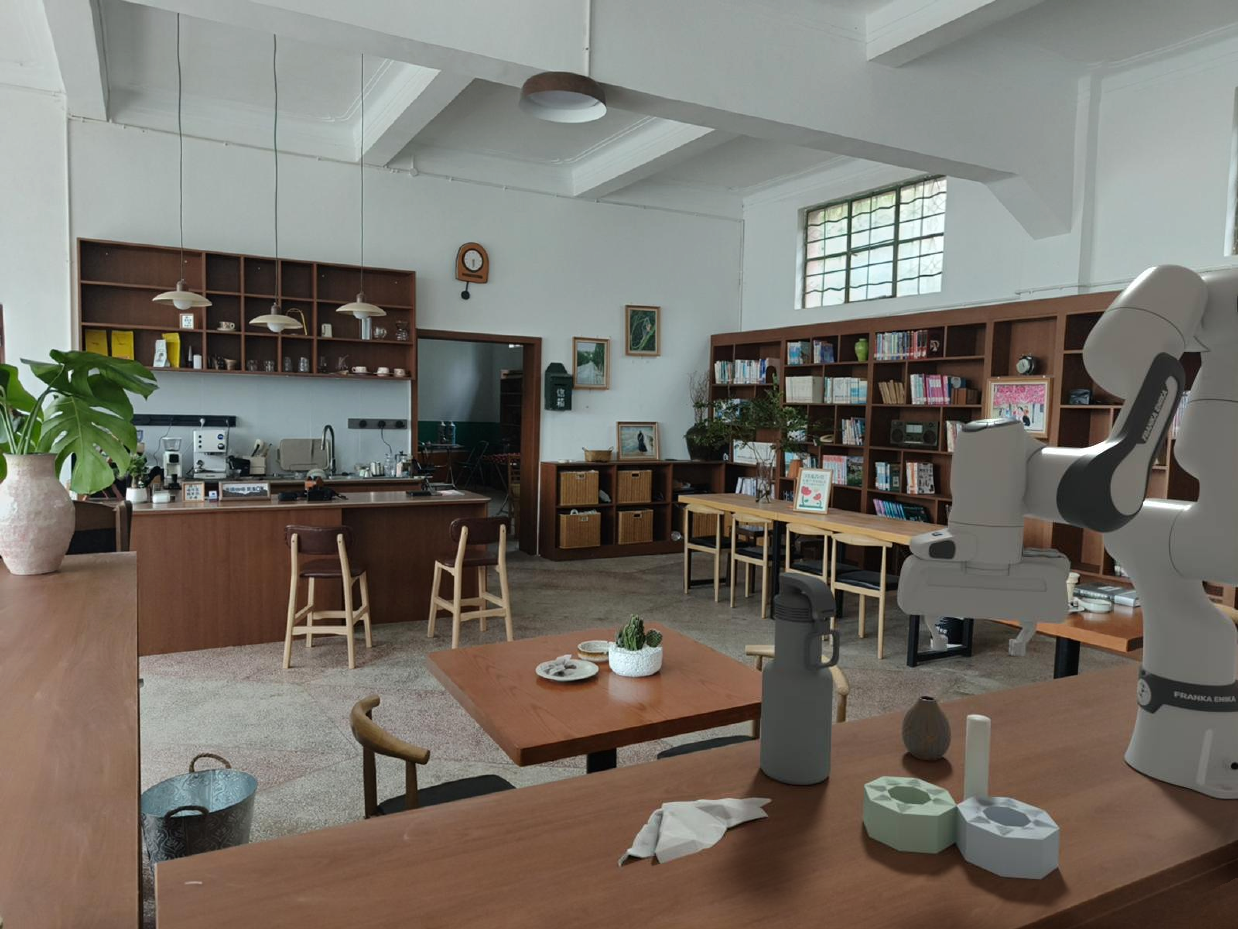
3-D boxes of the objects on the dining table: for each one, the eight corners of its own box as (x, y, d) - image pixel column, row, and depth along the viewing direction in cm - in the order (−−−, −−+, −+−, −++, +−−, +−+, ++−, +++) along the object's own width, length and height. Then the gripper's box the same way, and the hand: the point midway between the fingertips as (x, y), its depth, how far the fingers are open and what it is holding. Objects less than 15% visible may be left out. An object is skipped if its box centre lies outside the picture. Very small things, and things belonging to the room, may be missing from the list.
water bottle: (847, 778, 115) (853, 580, 114) (795, 794, 110) (801, 587, 109) (795, 753, 124) (800, 568, 122) (745, 766, 119) (750, 573, 117)
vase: (954, 767, 120) (956, 708, 119) (904, 762, 121) (906, 704, 121) (945, 748, 126) (947, 692, 126) (898, 744, 128) (900, 688, 127)
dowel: (982, 805, 108) (986, 715, 107) (989, 815, 105) (993, 723, 104) (960, 803, 108) (964, 714, 108) (967, 814, 105) (970, 721, 105)
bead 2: (1033, 835, 100) (1035, 799, 100) (1069, 881, 90) (1071, 841, 90) (947, 829, 101) (949, 794, 101) (973, 874, 91) (975, 835, 91)
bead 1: (939, 814, 105) (940, 779, 105) (962, 855, 95) (964, 817, 95) (858, 808, 106) (859, 774, 106) (873, 849, 96) (874, 811, 96)
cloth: (748, 788, 114) (749, 772, 113) (815, 833, 101) (816, 815, 101) (576, 829, 102) (576, 811, 101) (628, 885, 89) (629, 865, 89)
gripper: (1060, 546, 107) (1054, 651, 108) (897, 537, 110) (892, 640, 111) (1081, 553, 101) (1074, 665, 102) (907, 544, 104) (901, 653, 104)
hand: (977, 652), depth 106 cm, fingers open, 8 cm apart
